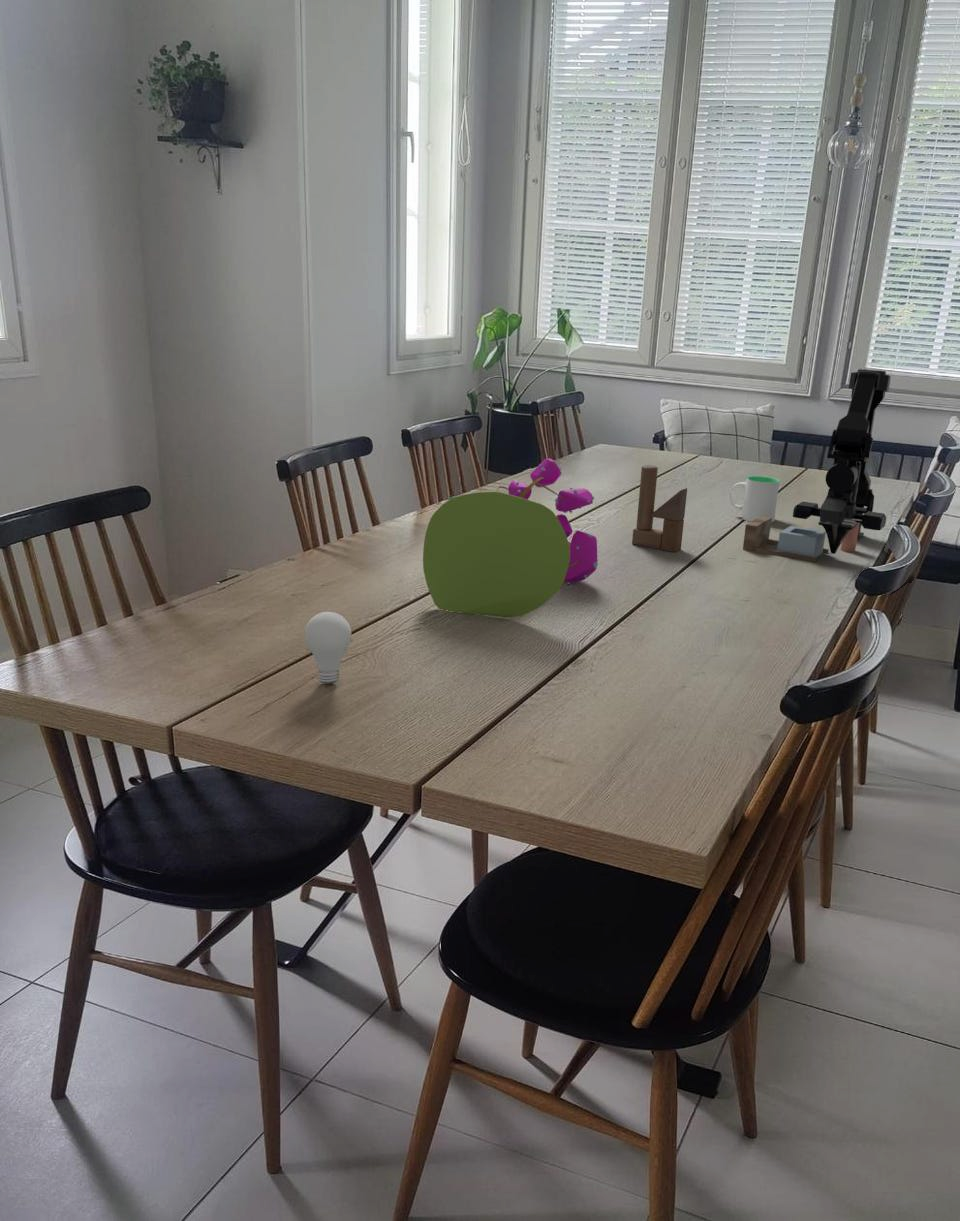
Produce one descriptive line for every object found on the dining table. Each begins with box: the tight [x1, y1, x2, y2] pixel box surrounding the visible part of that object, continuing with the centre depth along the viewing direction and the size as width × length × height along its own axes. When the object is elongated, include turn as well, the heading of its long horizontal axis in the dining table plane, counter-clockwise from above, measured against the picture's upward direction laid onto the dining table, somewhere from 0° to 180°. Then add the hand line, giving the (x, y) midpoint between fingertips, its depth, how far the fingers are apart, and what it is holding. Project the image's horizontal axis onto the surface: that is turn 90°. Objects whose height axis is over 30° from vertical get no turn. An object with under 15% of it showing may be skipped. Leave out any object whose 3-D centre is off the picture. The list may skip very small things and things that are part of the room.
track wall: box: [742, 516, 830, 563], centre depth 228 cm, size 11×16×6 cm
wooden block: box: [631, 464, 688, 553], centre depth 226 cm, size 4×11×18 cm, turn 56°
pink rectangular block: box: [840, 523, 860, 553], centre depth 230 cm, size 3×3×7 cm
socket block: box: [776, 525, 827, 558], centre depth 226 cm, size 8×8×5 cm
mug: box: [729, 475, 780, 523], centre depth 259 cm, size 12×8×10 cm, turn 64°
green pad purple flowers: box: [422, 457, 599, 618], centre depth 191 cm, size 30×28×35 cm
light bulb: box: [304, 611, 352, 685], centre depth 145 cm, size 7×7×11 cm
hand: (833, 553), depth 223 cm, fingers closed
